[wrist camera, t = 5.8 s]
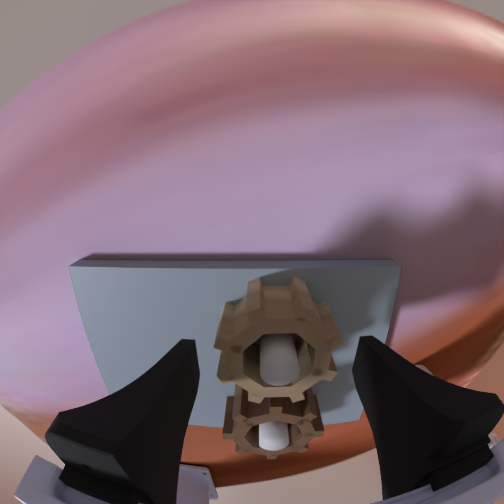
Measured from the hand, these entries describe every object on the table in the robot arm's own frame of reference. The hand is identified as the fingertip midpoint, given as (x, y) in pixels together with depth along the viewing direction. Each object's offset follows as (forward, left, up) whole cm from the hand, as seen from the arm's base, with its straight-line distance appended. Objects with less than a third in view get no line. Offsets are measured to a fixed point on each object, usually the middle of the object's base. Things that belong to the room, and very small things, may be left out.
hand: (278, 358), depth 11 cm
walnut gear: (-6, 0, -3) cm, 6 cm away
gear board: (-3, +2, -4) cm, 5 cm away
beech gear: (0, 0, -3) cm, 3 cm away
